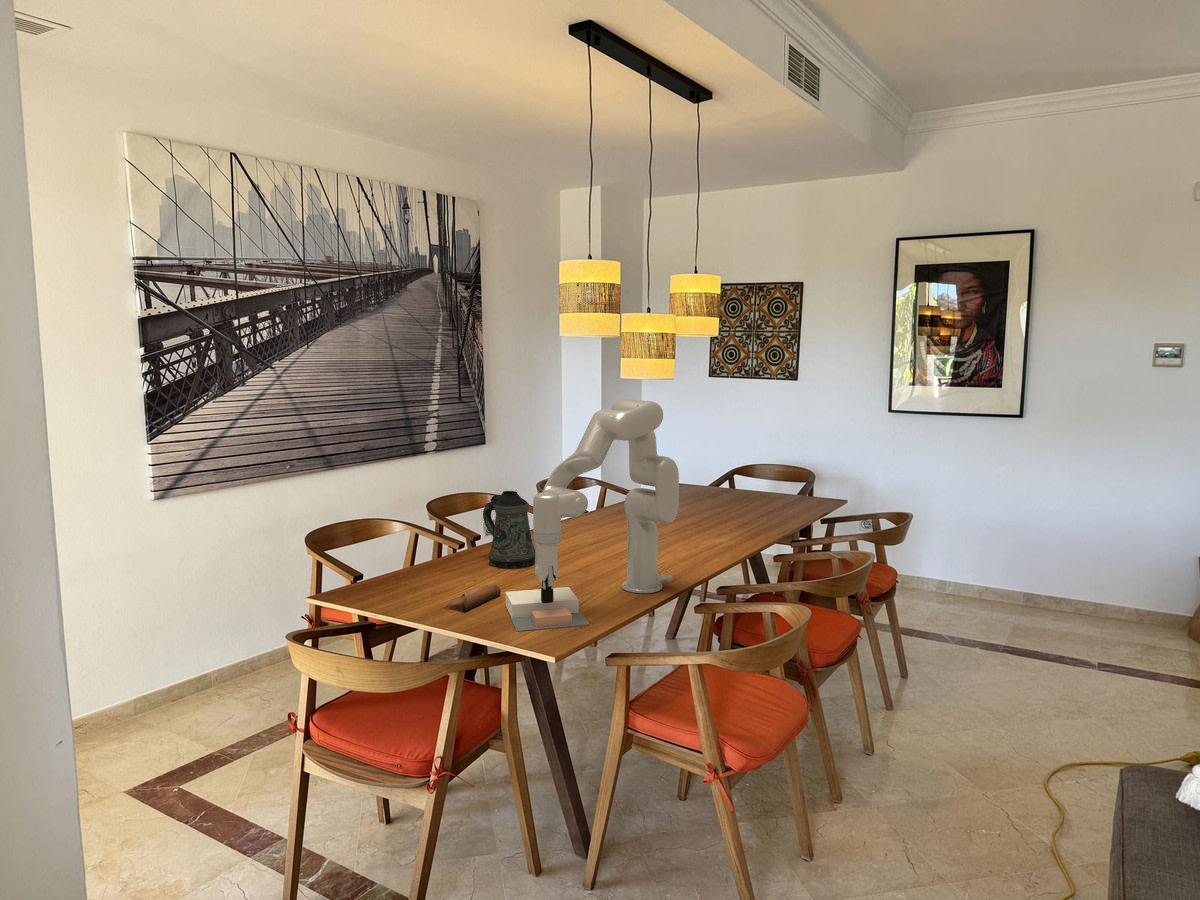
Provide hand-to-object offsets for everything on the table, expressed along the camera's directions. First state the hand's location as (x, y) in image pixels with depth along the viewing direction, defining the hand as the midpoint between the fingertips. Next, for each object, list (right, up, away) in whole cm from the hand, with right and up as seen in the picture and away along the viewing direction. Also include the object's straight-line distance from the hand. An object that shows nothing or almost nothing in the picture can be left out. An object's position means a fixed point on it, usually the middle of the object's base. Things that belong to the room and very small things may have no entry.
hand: (547, 602), depth 225 cm
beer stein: (-17, +3, +57) cm, 60 cm away
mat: (+1, -5, -2) cm, 6 cm away
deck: (-2, -4, +9) cm, 10 cm away
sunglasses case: (-23, -3, +15) cm, 28 cm away
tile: (+1, -4, -3) cm, 5 cm away
